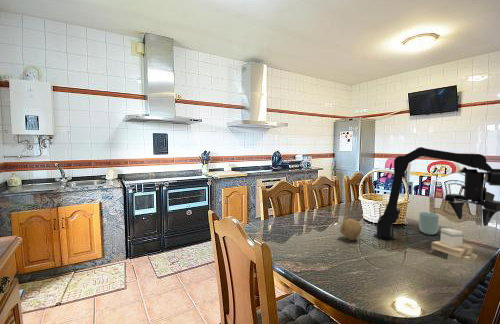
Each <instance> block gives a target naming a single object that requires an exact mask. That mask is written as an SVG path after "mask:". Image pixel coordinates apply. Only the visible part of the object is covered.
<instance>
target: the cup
mask: <svg viewBox="0 0 500 324" xmlns="http://www.w3.org/2000/svg"><path fill="white" fill-rule="evenodd" d="M439 218H440V216H439V214H437V213H435V212H434V213H433V212H430V211H429V212H428V211H421V212H419V215H418V225H419V226H418V228H419V230H420V231H421V233H423V234H425V235H427V236H429V235H430V236H434V235H436V234H437V232H438V230H439V223H440V222H439V221H440V219H439Z"/></svg>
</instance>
